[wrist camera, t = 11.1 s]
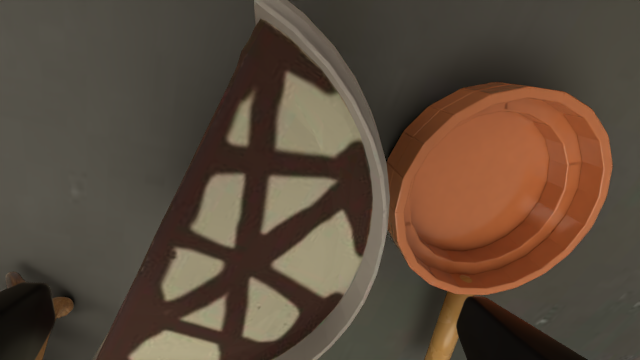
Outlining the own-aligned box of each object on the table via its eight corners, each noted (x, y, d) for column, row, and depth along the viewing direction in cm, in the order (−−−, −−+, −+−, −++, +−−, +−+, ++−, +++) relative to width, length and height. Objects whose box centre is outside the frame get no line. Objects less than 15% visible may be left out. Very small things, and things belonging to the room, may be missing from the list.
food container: (270, 271, 20) (263, 466, 10) (170, 231, 18) (55, 423, 9) (382, 90, 16) (517, 138, 7) (275, 20, 15) (270, -35, 5)
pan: (595, 97, 18) (652, 105, 15) (522, 267, 22) (557, 297, 19) (403, 68, 16) (429, 70, 13) (361, 259, 20) (374, 292, 17)
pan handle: (470, 270, 20) (484, 285, 18) (432, 376, 23) (441, 395, 21) (449, 269, 19) (461, 284, 18) (413, 376, 22) (421, 396, 21)
